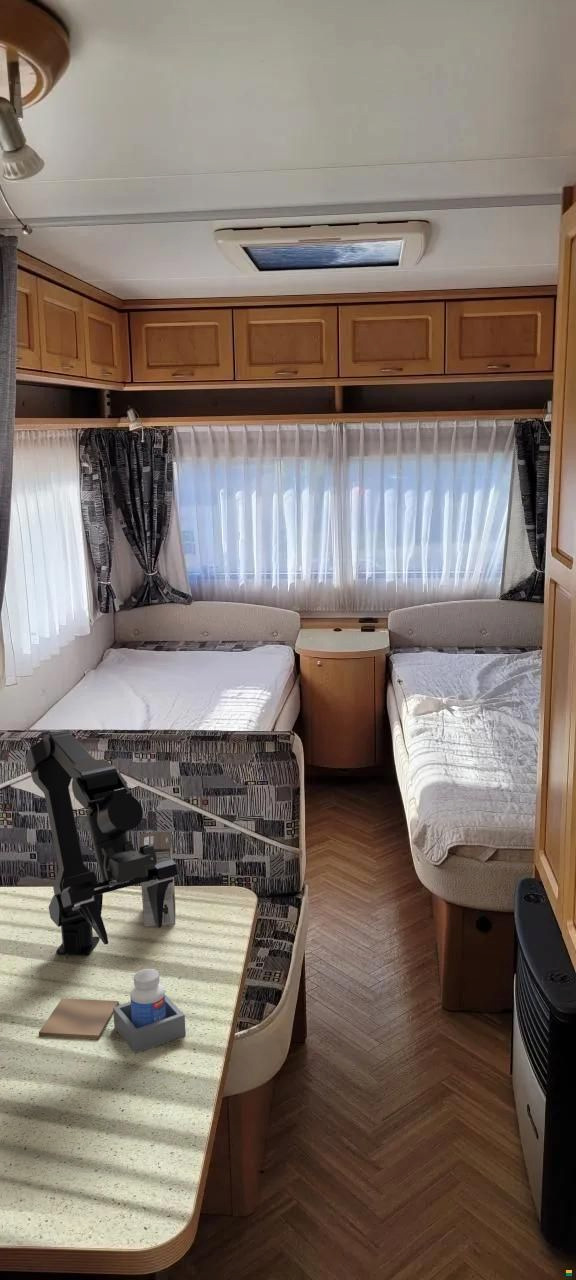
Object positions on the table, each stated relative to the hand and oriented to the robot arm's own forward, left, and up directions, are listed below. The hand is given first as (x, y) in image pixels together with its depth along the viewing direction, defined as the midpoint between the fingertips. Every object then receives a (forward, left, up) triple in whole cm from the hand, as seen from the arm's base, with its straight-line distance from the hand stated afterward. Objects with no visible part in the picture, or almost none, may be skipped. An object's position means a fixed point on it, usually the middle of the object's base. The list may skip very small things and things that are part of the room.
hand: (133, 936), depth 157 cm
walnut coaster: (+1, -10, -15) cm, 18 cm away
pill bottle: (+3, +3, -15) cm, 15 cm away
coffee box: (-36, -7, -15) cm, 40 cm away
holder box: (+3, +3, -15) cm, 15 cm away
